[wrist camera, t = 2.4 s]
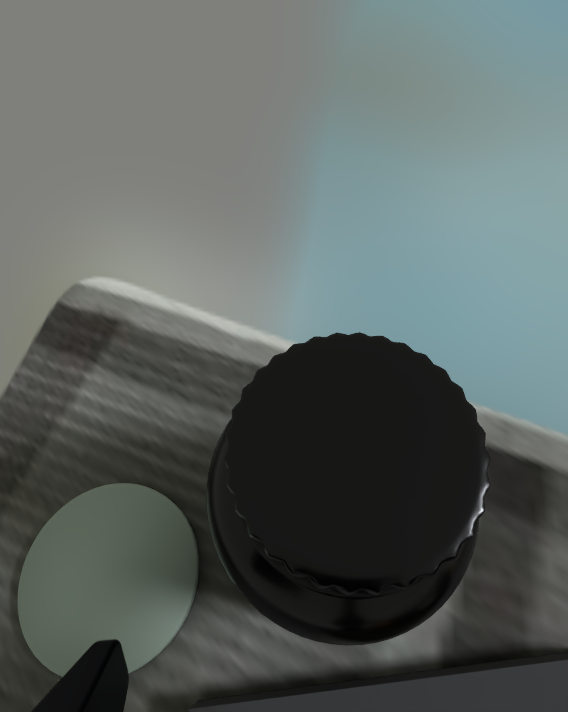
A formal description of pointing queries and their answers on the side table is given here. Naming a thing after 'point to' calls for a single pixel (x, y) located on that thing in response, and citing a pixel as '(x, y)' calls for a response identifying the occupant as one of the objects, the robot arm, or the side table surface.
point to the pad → (108, 577)
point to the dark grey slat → (423, 691)
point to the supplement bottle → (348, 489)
